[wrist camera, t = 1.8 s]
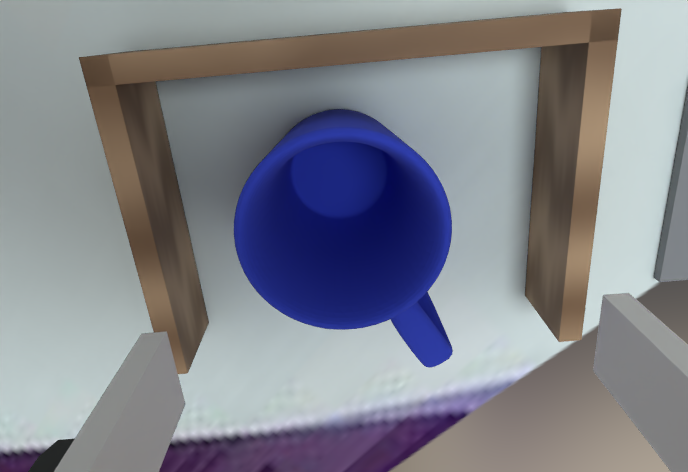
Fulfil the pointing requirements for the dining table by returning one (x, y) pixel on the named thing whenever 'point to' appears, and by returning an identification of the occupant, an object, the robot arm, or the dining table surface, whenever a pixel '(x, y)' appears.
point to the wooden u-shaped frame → (349, 48)
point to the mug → (347, 230)
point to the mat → (676, 215)
